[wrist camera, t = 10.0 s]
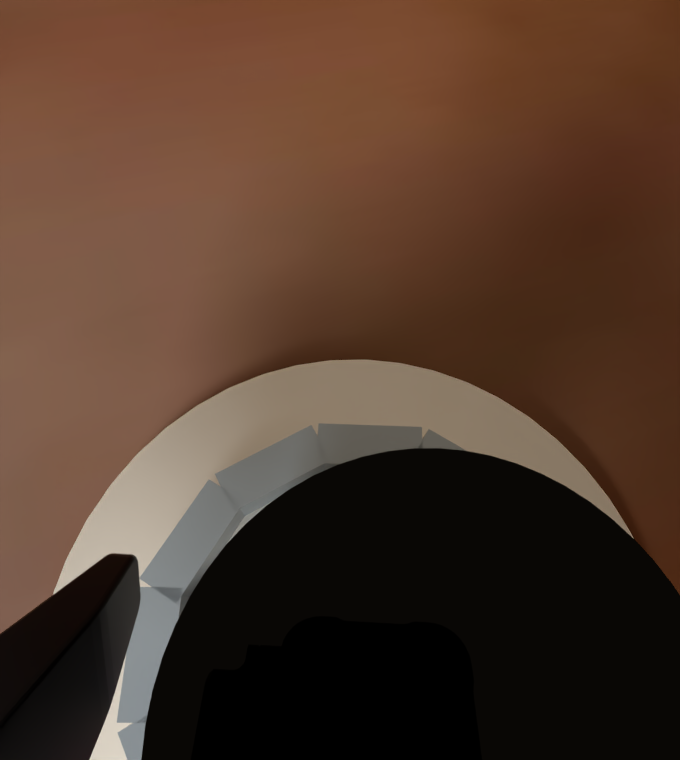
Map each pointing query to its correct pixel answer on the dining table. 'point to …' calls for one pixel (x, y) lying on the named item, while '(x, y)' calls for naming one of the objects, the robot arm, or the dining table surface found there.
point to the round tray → (281, 418)
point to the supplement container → (424, 625)
